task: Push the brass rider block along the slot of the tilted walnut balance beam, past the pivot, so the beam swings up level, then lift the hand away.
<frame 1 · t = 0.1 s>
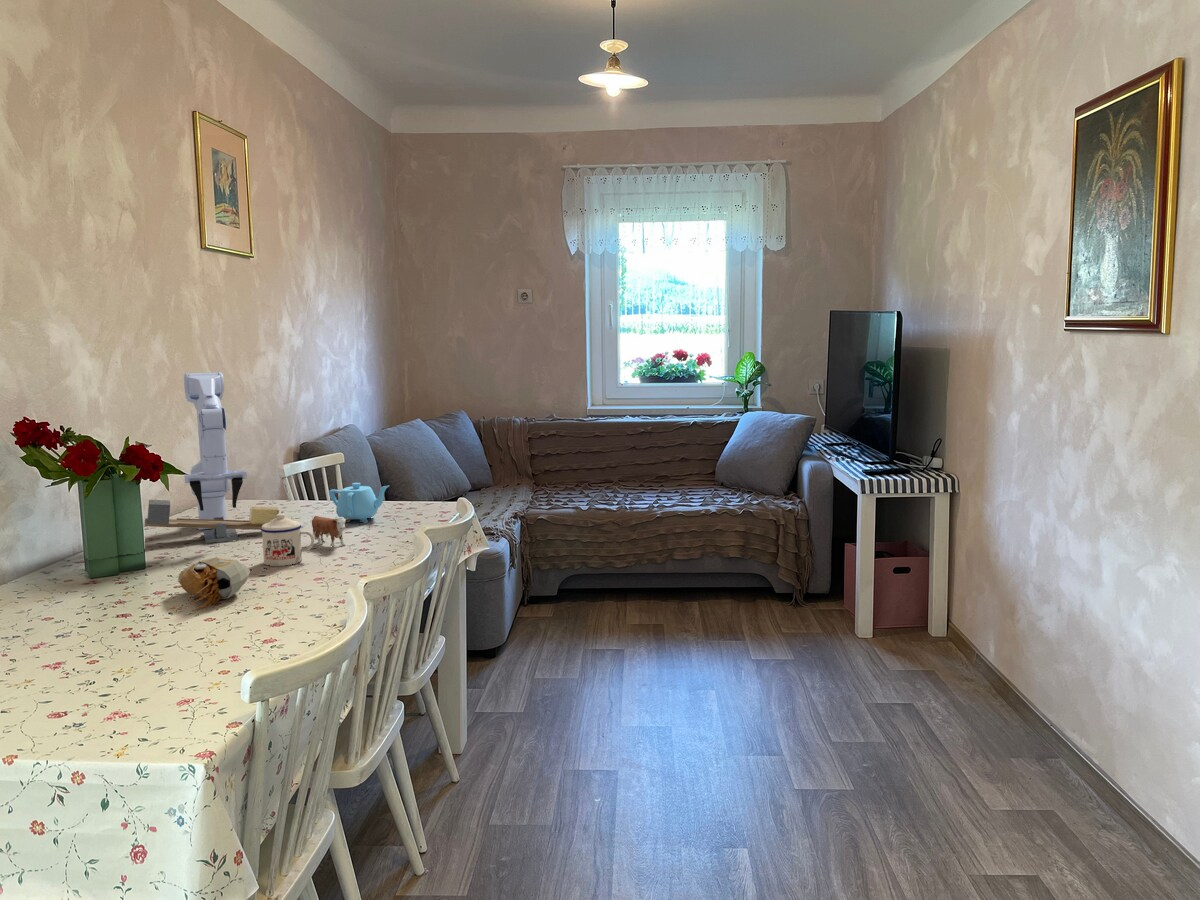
hand: (218, 508, 230), 10 cm above the table, tool pointing down, fingers open, 7 cm apart
teapot: (360, 520, 263), on the table
pivot stand: (220, 537, 243), on the table
teacup with lid: (289, 562, 216), on the table
nautilus: (208, 600, 187), on the table
bull figurine: (332, 546, 232), on the table
rider: (263, 524, 247), point 2 cm above the table, tilted 8°, touching beam
beam: (220, 515, 242), point 6 cm above the table, hinge at -8.1°, touching rider
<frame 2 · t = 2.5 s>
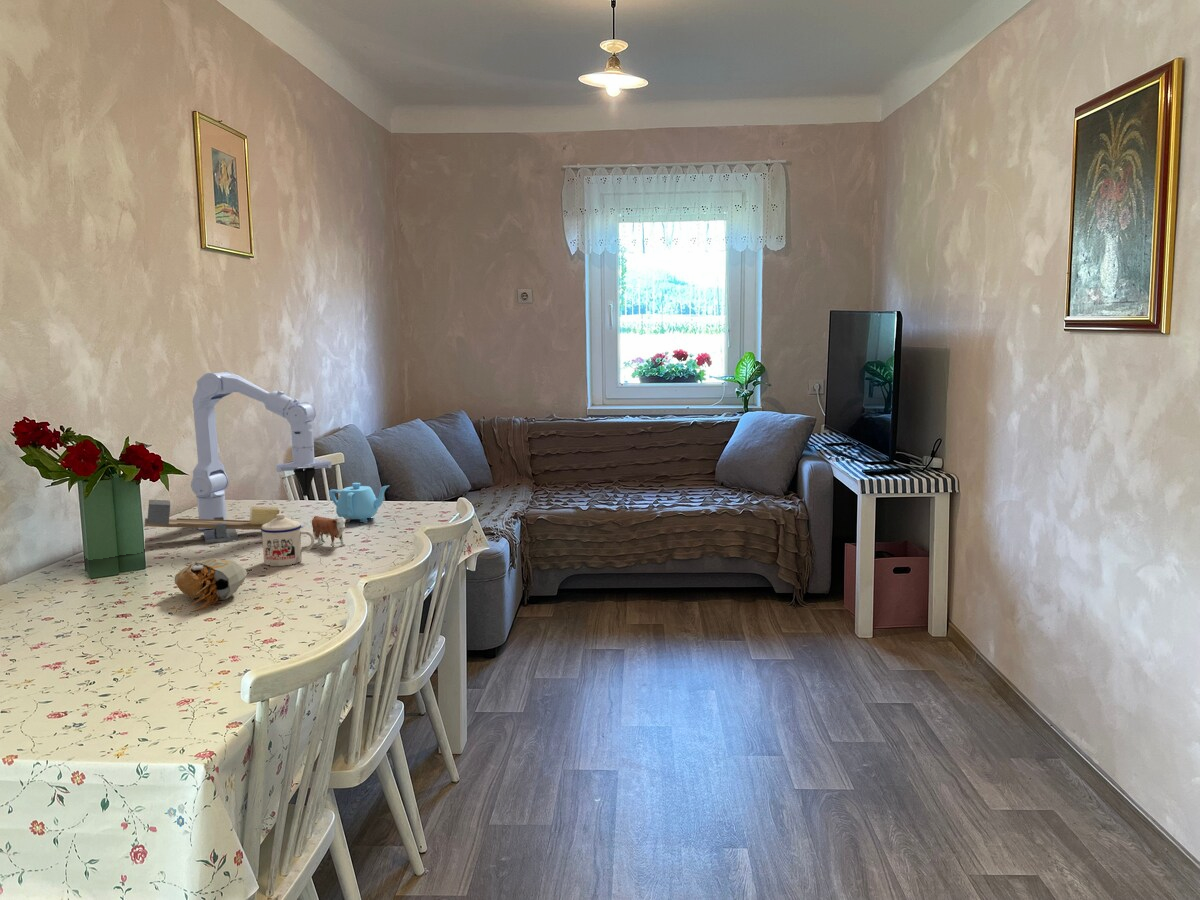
hand: (305, 495, 251), 9 cm above the table, tool pointing down, fingers closed
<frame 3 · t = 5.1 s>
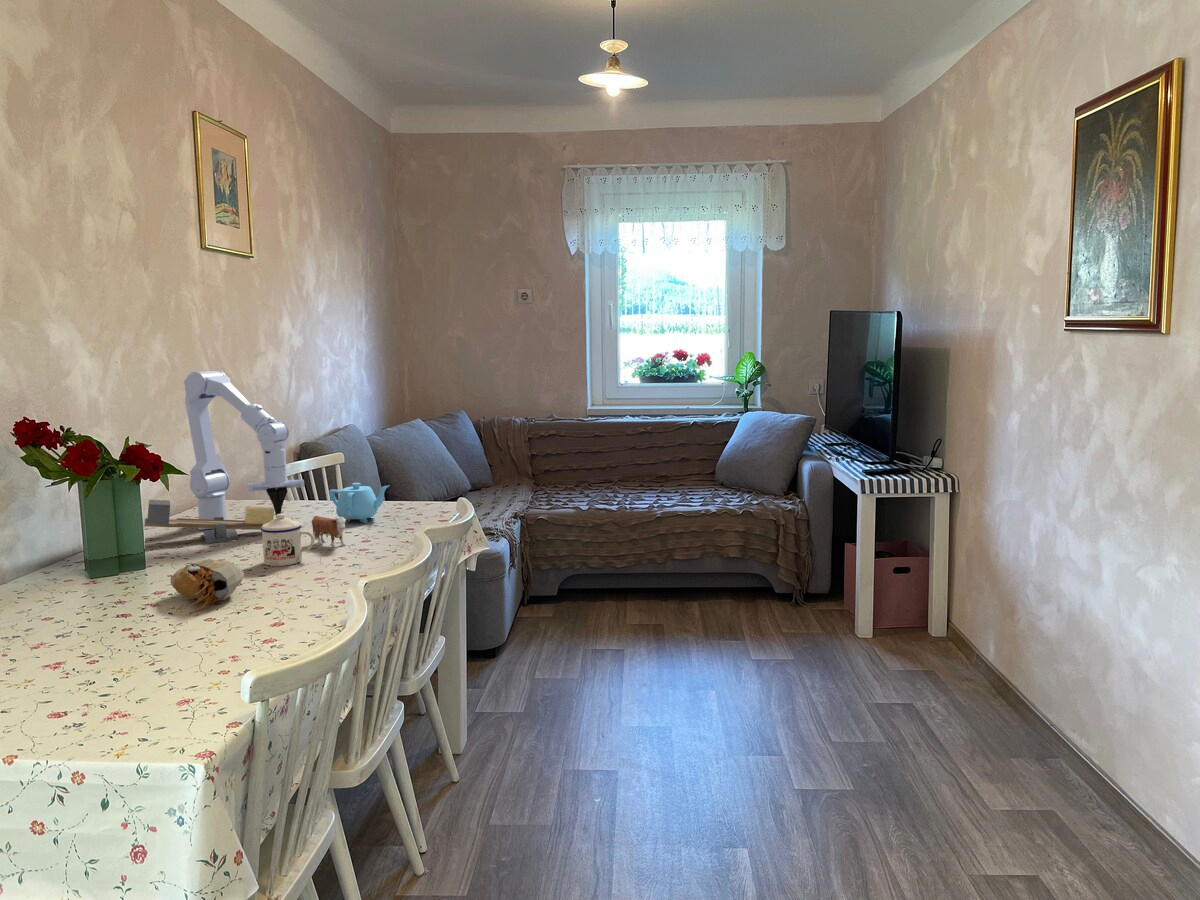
hand: (278, 515, 248), 5 cm above the table, tool pointing down, fingers closed
rider: (258, 524, 246), point 3 cm above the table, tilted 8°, touching gripper
beam: (220, 515, 242), point 6 cm above the table, hinge at -8.1°
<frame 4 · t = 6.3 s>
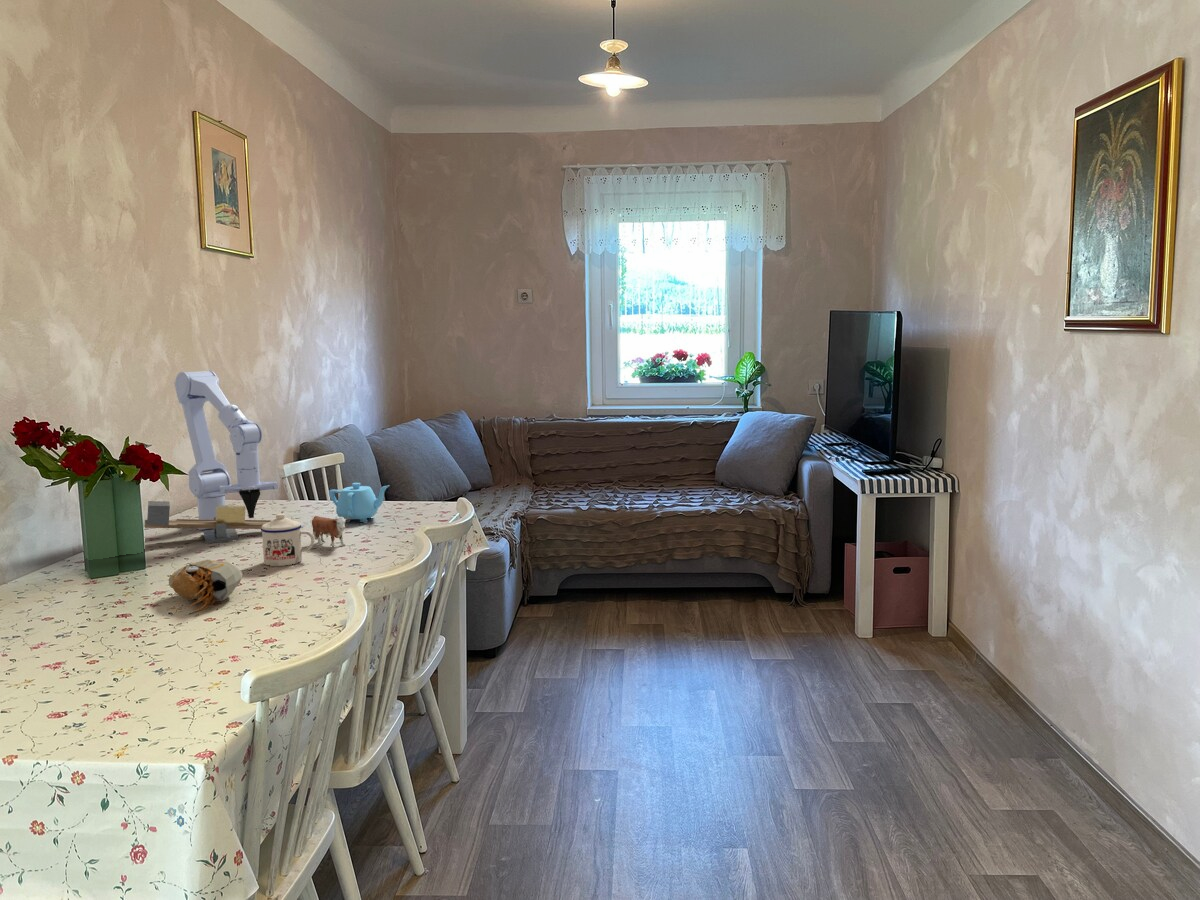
hand: (251, 517, 245), 5 cm above the table, tool pointing down, fingers closed
rider: (229, 523, 243), point 4 cm above the table, tilted 7°, touching gripper
beam: (220, 515, 242), point 6 cm above the table, hinge at -6.8°
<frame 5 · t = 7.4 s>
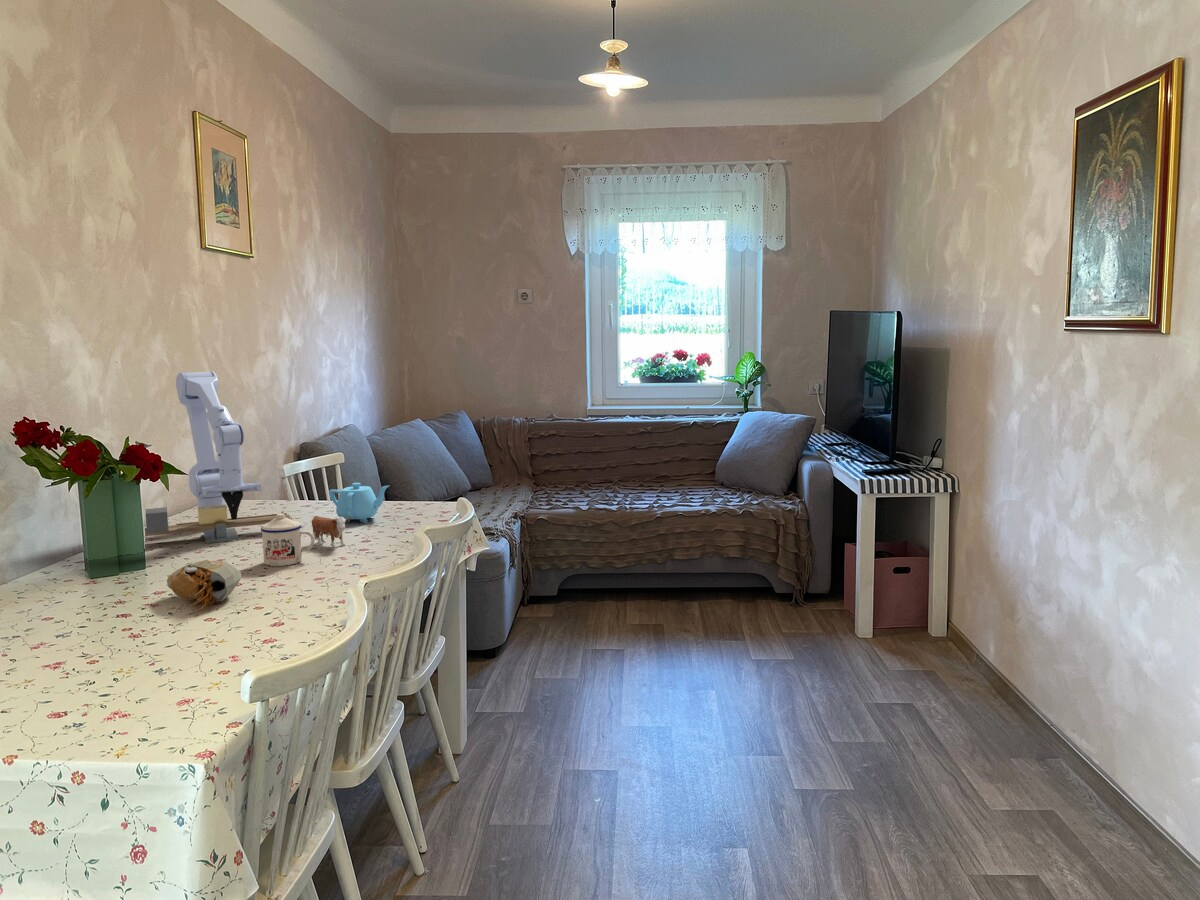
hand: (234, 519, 244), 5 cm above the table, tool pointing down, fingers closed
rider: (213, 523, 241), point 4 cm above the table, touching beam, gripper
beam: (219, 515, 242), point 6 cm above the table, hinge at 0.1°, touching rider
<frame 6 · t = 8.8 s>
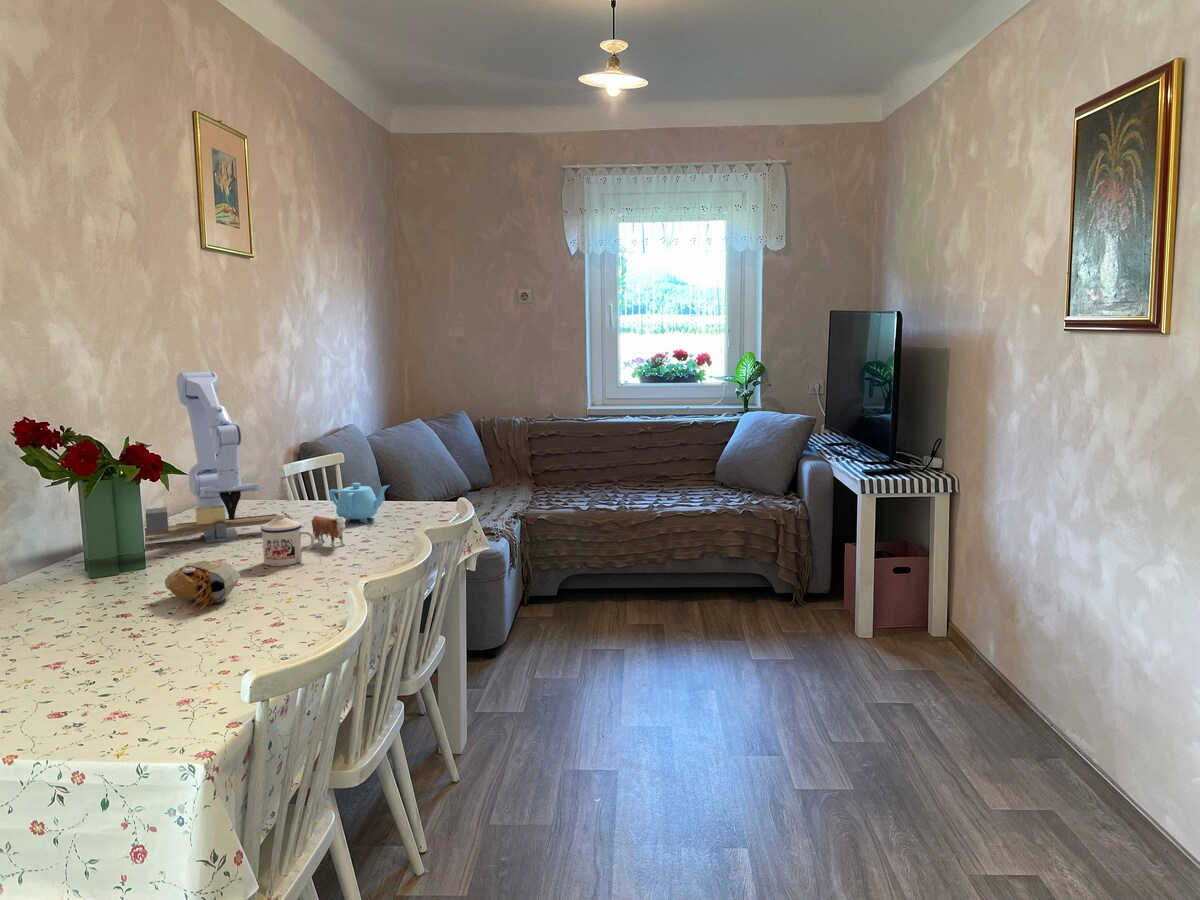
hand: (231, 519, 243), 5 cm above the table, tool pointing down, fingers closed
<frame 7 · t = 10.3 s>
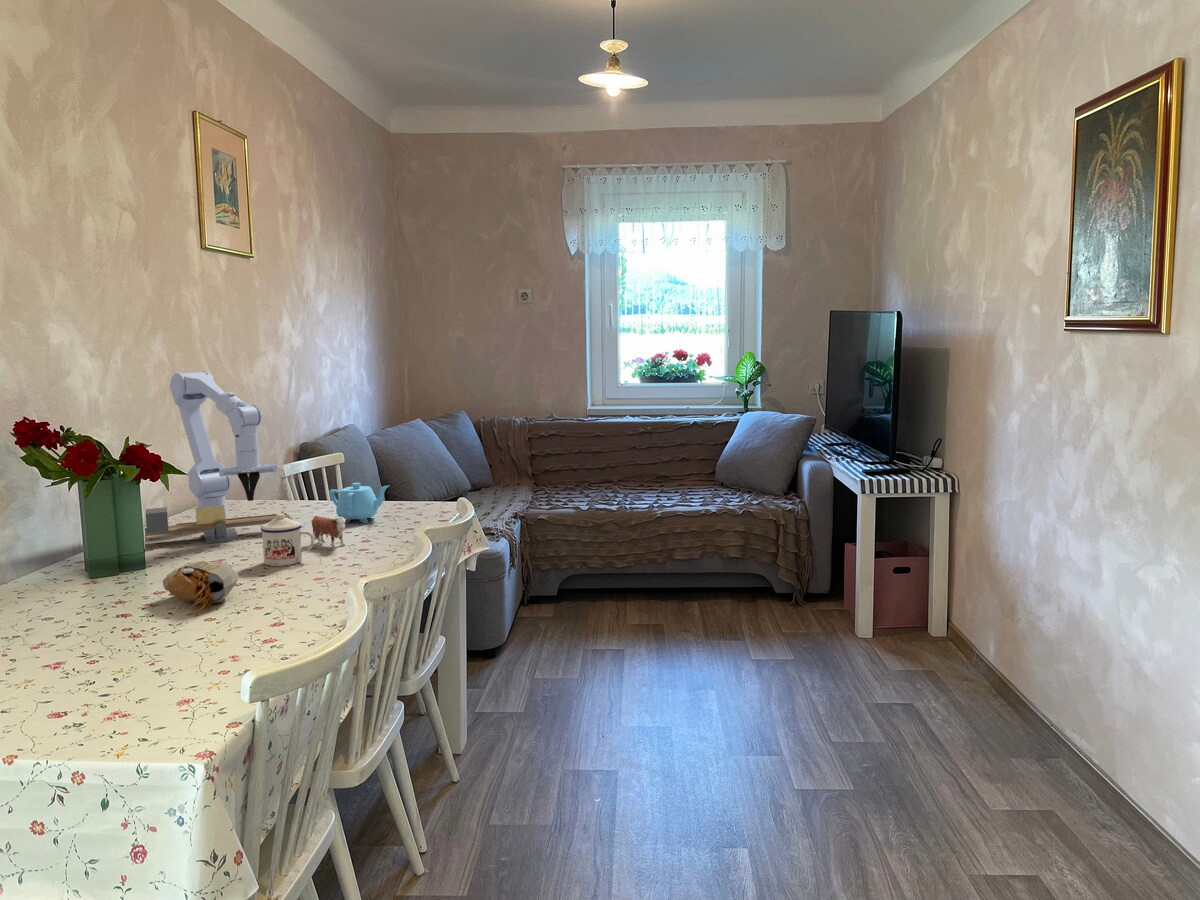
hand: (250, 500, 245), 9 cm above the table, tool pointing down, fingers closed
rider: (211, 523, 241), point 4 cm above the table, touching beam
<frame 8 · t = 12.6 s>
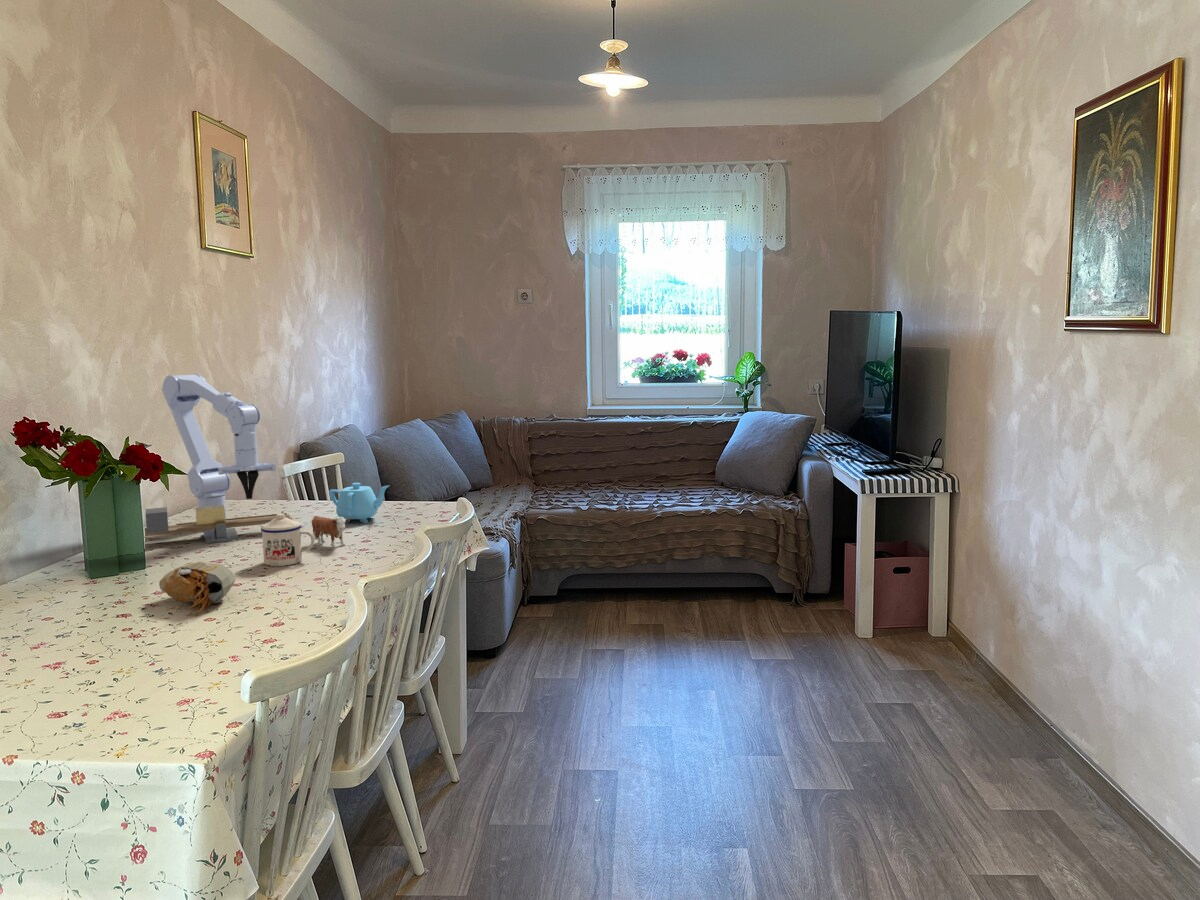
hand: (249, 498, 247), 9 cm above the table, tool pointing down, fingers closed
at the end: beam at +0° (first picture: -8°); rider inside the target area on the beam (1.9 cm from its centre), point 0.4 cm above the beam's base; the gripper is holding nothing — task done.
